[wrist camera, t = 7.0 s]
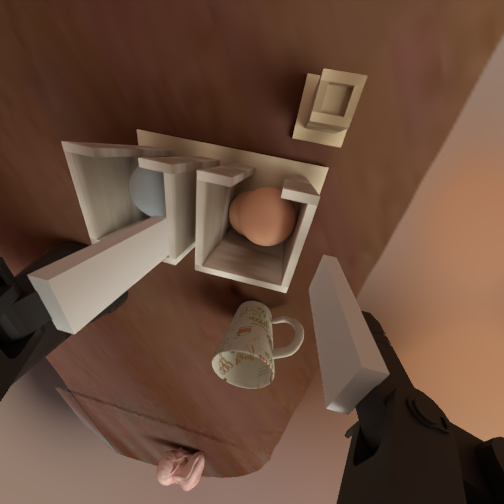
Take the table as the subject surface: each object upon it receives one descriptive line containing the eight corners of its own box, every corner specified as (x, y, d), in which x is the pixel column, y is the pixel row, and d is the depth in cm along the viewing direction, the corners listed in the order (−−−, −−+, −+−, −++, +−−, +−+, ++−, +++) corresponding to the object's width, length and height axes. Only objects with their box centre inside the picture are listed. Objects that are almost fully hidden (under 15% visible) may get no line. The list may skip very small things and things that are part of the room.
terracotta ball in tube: (237, 221, 25) (219, 236, 20) (241, 183, 22) (222, 191, 18) (272, 232, 23) (261, 249, 19) (282, 193, 21) (271, 204, 17)
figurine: (207, 441, 77) (161, 443, 73) (203, 485, 67) (150, 490, 63) (204, 449, 82) (162, 451, 79) (200, 491, 72) (152, 496, 69)
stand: (292, 138, 19) (293, 133, 15) (307, 75, 17) (314, 45, 12) (339, 147, 19) (355, 145, 14) (361, 85, 17) (390, 57, 12)
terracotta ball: (225, 241, 17) (260, 245, 13) (230, 186, 16) (268, 172, 12) (266, 246, 20) (304, 250, 16) (271, 199, 19) (312, 191, 15)
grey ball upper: (137, 212, 19) (115, 214, 14) (142, 161, 18) (120, 145, 13) (188, 221, 20) (183, 226, 16) (194, 174, 19) (192, 164, 15)
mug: (223, 300, 32) (200, 354, 24) (292, 284, 28) (294, 342, 19) (243, 332, 35) (229, 390, 27) (308, 321, 31) (316, 386, 23)
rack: (150, 217, 27) (77, 252, 18) (141, 129, 22) (28, 111, 12) (297, 252, 25) (303, 310, 16) (327, 167, 20) (361, 179, 11)
